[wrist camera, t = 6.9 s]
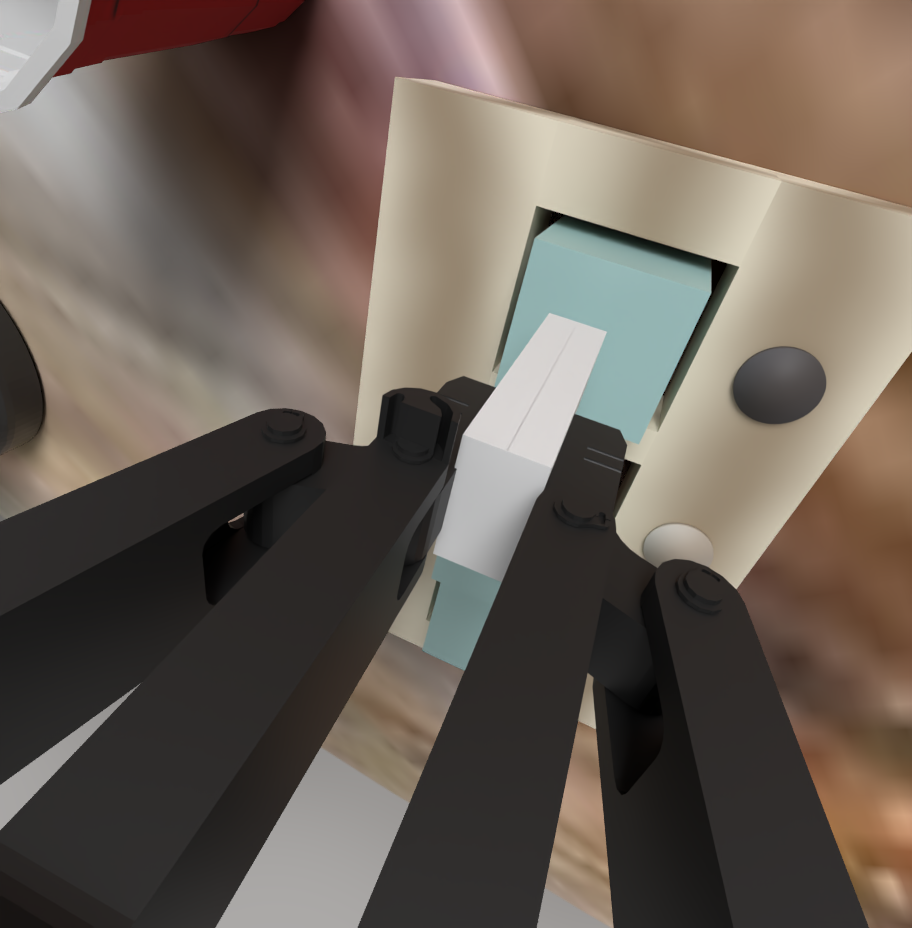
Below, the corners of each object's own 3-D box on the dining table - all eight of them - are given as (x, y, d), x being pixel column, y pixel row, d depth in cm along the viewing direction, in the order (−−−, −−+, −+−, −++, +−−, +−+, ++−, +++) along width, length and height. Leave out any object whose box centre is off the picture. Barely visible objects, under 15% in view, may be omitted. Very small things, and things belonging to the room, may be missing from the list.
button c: (525, 348, 21) (493, 390, 18) (564, 214, 19) (534, 238, 15) (650, 392, 21) (638, 444, 17) (711, 259, 18) (711, 292, 15)
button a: (452, 592, 30) (421, 650, 26) (472, 525, 27) (440, 582, 24) (539, 630, 29) (518, 696, 26) (569, 565, 26) (550, 630, 23)
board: (361, 570, 33) (332, 609, 30) (434, 80, 19) (392, 76, 16) (630, 691, 30) (622, 745, 28) (952, 218, 16) (998, 240, 13)
